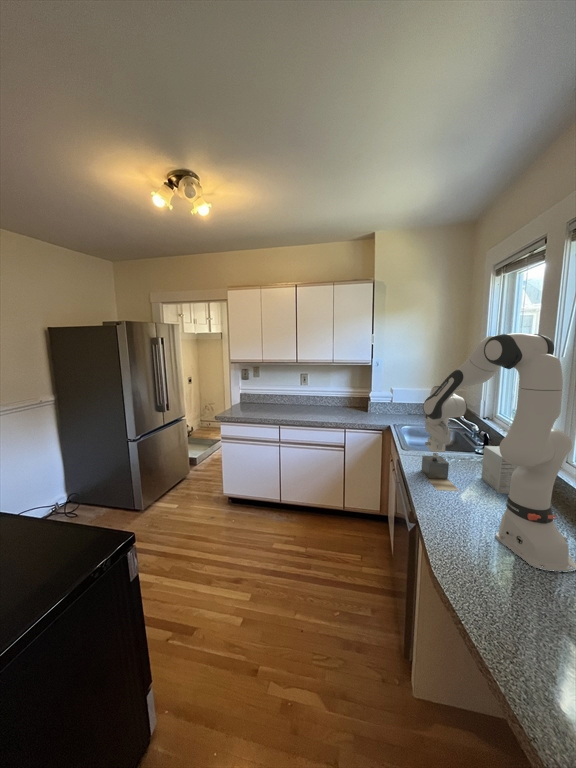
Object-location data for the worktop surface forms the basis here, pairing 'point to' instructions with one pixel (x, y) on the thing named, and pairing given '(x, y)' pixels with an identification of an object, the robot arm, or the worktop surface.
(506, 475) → the supplement box
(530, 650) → the worktop surface
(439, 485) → the board
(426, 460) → the stepped grey block
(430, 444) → the pump housing
